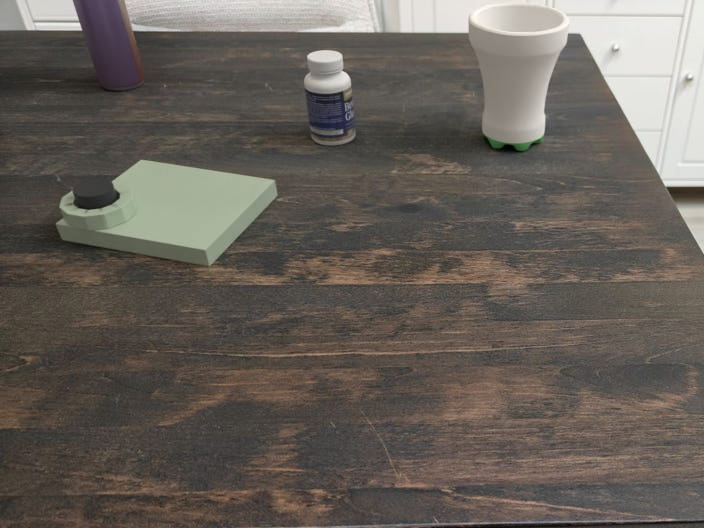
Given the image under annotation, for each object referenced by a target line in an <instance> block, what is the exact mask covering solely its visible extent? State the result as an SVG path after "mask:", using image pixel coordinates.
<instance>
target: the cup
mask: <svg viewBox="0 0 704 528" xmlns="http://www.w3.org/2000/svg"><path fill="white" fill-rule="evenodd" d="M467 21H468V40H469V43H470V45H471V47H472V49H473V50H474V53H475V56H476V59H477V63H478V66H479V71H480V75H481V79H482V86H483V87H482V88H483V96H484V97H483V100H484V101H483V102H484V103H483V105H484V110H483V112H482V118H481V131H482V135H483V137H484V138H486V139H487V140H488V141H489V144H490V145H491V148H493V149H502V148H504V146H505V145H511V146H513V147H514V149H515V150H516V151H519V152H525V151H527V150H528V149H529V148H530V146H531V145H532V144H539V143H542V142H543V141H544V138H545V132H546V131H545V130H546V114H545V107H546V106H545V105H546V99H547V93H548V88H549V85H550V84H549V83H550V80H551V78H552V75H553V72H554V70H555V66H556V63H557V62H558V59H559V56H560V54H561V52H562V51H563V49H564V48H565V47H566V45H567V43H568V38H569V28H570V19H569V17H568V16H567V14H566V13H565V12H564V11H562V10H559V9H557V8H554V7H552V6H548V5H545V4H544V5H543V4H539V3H538V4H537V3H531V2H519V1H518V2H517V1H516V2H515V1H513V2H499V3H491V4H487V5H482V6H480V7H478V8H475V9H473V11H472V12H471V13H470V14H469V15H468V20H467Z"/></svg>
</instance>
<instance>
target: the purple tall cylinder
mask: <svg viewBox="0 0 704 528" xmlns="http://www.w3.org/2000/svg"><path fill="white" fill-rule="evenodd" d="M72 3H73V6H74V9H75V12H76V15H77V19H78V22H79V25H80V28H81V31H82V34H83V38H84V40H85V44H86V46H87V50H88V53H89V56H90V60H91V62H92V65H93V68H94V71H95V75H96V78H97V81H98V83H99V84H100V85H101V87H103V88H104V89H106V90H108V91H114V92H124V91H130V90H134V89H137V88H139V87H141V86H142V85H143V84H144V82H145V79H146V72H145V70H144V66H143V63H142V58H141V55H140V51H139V48H138V45H137V41H136V37H135V33H134V30H133V27H132V23H131V19H130V16H129V12H128V9H127V4H126V2H125V0H72Z"/></svg>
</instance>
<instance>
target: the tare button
mask: <svg viewBox="0 0 704 528" xmlns="http://www.w3.org/2000/svg"><path fill="white" fill-rule="evenodd" d="M72 190H73V194H74V197H75V200H76V202H77V205H78V207H79V208H81V209H85V210H92V209H101V208H104V207H106V206H109V205H112V204H113V203H114V202H116V201H117V199H118V197H117V194H116V191H115V188H114V185H113V183H112V180H109V179H107V178H90V179H87V180H83V181H81V182H78V183H77V184H75V185H74V187H73V188H72Z"/></svg>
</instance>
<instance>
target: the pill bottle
mask: <svg viewBox="0 0 704 528" xmlns="http://www.w3.org/2000/svg"><path fill="white" fill-rule="evenodd" d="M306 62H307V69H308V71H309V72H308V73H307V74H306V75H305V77H304V79H303V85H304V87H303V88H304V92H305V99H306V100H305V101H306V107H307V115H308V124H309V130H310V137H311V139H312V140H313V142H315V143H317V144H319V145H321V146H327V147H333V146H334V147H335V146H342V145H345V144H346V145H347V144H348V143H350V142H352V141H353V140H354V139H355V137H356V122H355V110H354V99H353V89H352V88H353V87H352V80H351V77H350V76H349V74H348V73H347V72H346V71H343V70H344V60H343V54H342V53H341V52H339V51H336V50H329V49H323V50H316V51H312V52H310V53H308V54H307V56H306Z"/></svg>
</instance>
